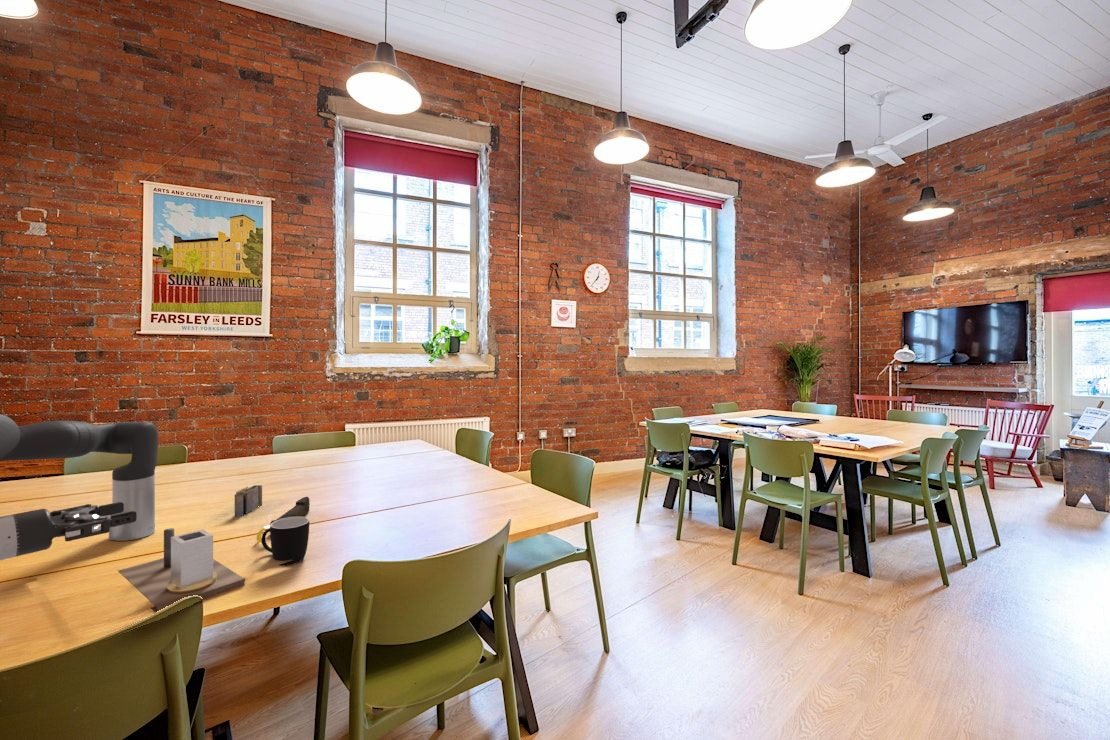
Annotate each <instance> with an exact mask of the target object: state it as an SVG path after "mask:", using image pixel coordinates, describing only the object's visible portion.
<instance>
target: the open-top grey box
mask: <svg viewBox="0 0 1110 740" xmlns="http://www.w3.org/2000/svg"><path fill="white" fill-rule="evenodd" d="M213 559H214V535H213V534H212V533H210V532H208V531H206V530H205V529H198V530H194V531H190V532H186V533H182V534H178V535H174V536H173V537H171V581H172V582H173V583H174V584H176V585H177V586H178V587H179V588H181V589H182V588H185V587H188V586H191V585H194V584H197V583H200V582H203V581H206V580H210V579H213Z"/></svg>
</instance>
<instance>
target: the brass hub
mask: <svg viewBox="0 0 1110 740" xmlns="http://www.w3.org/2000/svg"><path fill="white" fill-rule="evenodd" d="M216 580H217V573H216V572H214V571H213V579H210V580H206V581H203V582H200V583H197V584H194V585H191V586H188V587H185V588H182V589H181V588H179V587H178V586H177V585H176V584H174V583H173V582H172V581H169V582H168V584H167V591H168V592H169V593H172V594H184V593H190V592H195V591H198V590H201V589H204V588H206V587H209V586H210V585H212V584H214V583H215V582H216Z"/></svg>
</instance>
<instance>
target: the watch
mask: <svg viewBox="0 0 1110 740" xmlns="http://www.w3.org/2000/svg"><path fill="white" fill-rule="evenodd" d="M269 528H270V524H268V525H264V526H262V528H261V529H260V530H259V531H258V532H257V534H256V542H257V544H260V543H261V544H262V541H261V538H262V534H263V533H264V532H265V531H266V530H267V529H269ZM267 545H268V544H267ZM268 546H269V547H270V548H271V544H269V545H268Z"/></svg>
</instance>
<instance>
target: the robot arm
mask: <svg viewBox="0 0 1110 740" xmlns="http://www.w3.org/2000/svg"><path fill="white" fill-rule="evenodd" d="M158 430H159V429H158V428H157V426H156V425H155V424H154V423H153V422H150V421H149V422H148V421H120V422H111V423H105V424H92V423H90V422H86V421H79V420H50V421H49V420H48V421H41V422H36V423H30V424H25V425H19V426H18V424H17V423H16V422H15V421H14V420H13V419H12V418H10V417H9V416H7V415H5V414H1V413H0V462H8V461H34V460H35V461H38V460H57V459H72V458H79V457H82V456H85V455H88V454H90V453H106V454H107V453H108V454H116V455H117V454H118V455H131V459H130V462H128V463H127V464H123V465H121V466H118V467H115V468H114V469H113V470H112V471H111V472H112V473H111V476H112V477H111V479H112V480H111V481H112V482H111V483H112V485H111V487H112V488H111V489H112V496H111V497H112V502H111V503H108V504H107V503H106V504H102V505H96V504H92V503H91V504H89V503H87V504H84V505H78V506H73V507H68V508H64V509H58V510H53V511H50V512H49V510H48V509H46V508H40V509H35V510H29V511H23V512H17V513H14V514H9V515H3V516H0V561H4V560H7V559H8V560H9V559H12V558H15V557H20V556H25V555H29V554H33V553H37V552H41V551H45V550H49V549H50V548H51V546H52V544H53V539H54V538H55V539H56V538H62V537H64V541H65V542H72V541H75V540H81V539H85V538H88V537H94V536H99V535H102V534H107V533H108V541H119V542H123V541H124V542H125V541H133V540H134V541H135V540H137V539H142V538H145V537H148V536H151V535H152V534H153V535H154V534H155V531H156V530H155V529H156V528H155V527H156V522H155V521H156V520H155V519H156V509H155V508H156V506H155V505H156V504H155V503H156V500H155V499H156V495H155V494H156V493H155V492H156V490H155V489H156V488H155V486H156V485H155V483H156V481H155V479H156V478H155V477H156V476H155V470H156V467H157V464H158V450H159V431H158Z"/></svg>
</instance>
